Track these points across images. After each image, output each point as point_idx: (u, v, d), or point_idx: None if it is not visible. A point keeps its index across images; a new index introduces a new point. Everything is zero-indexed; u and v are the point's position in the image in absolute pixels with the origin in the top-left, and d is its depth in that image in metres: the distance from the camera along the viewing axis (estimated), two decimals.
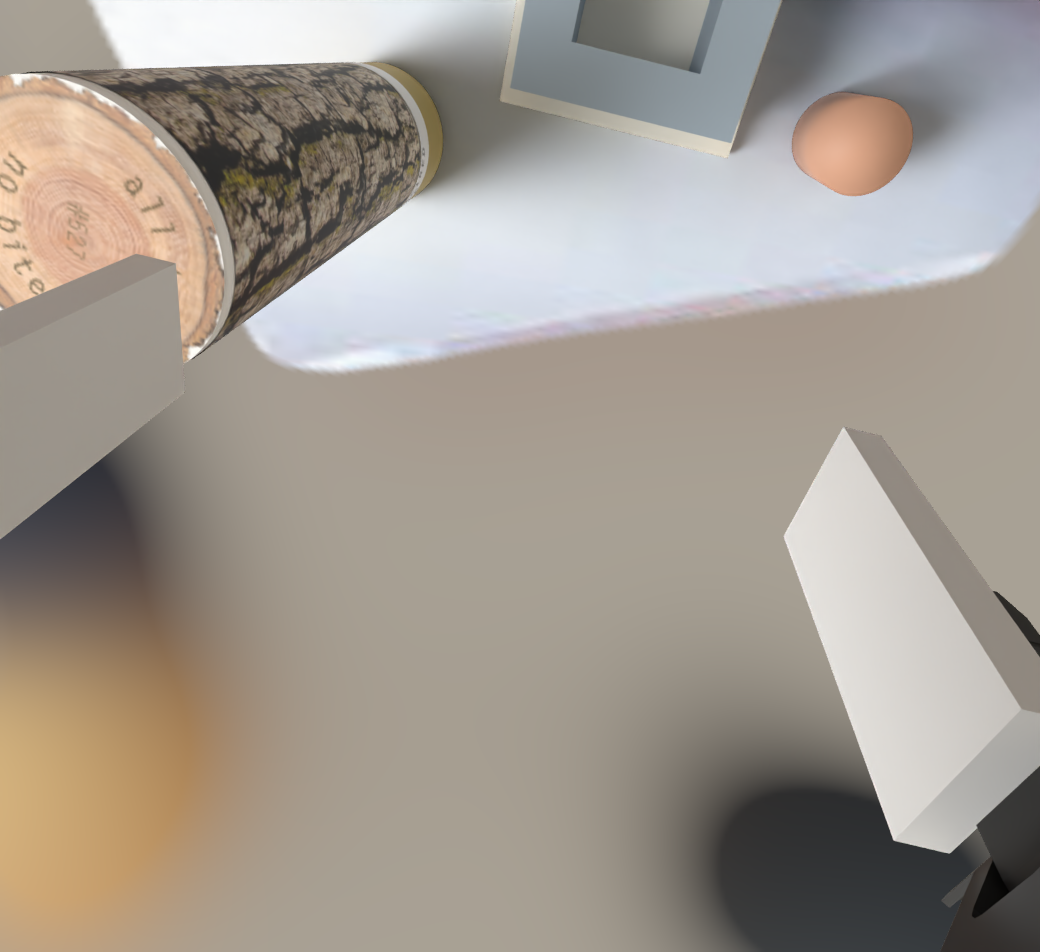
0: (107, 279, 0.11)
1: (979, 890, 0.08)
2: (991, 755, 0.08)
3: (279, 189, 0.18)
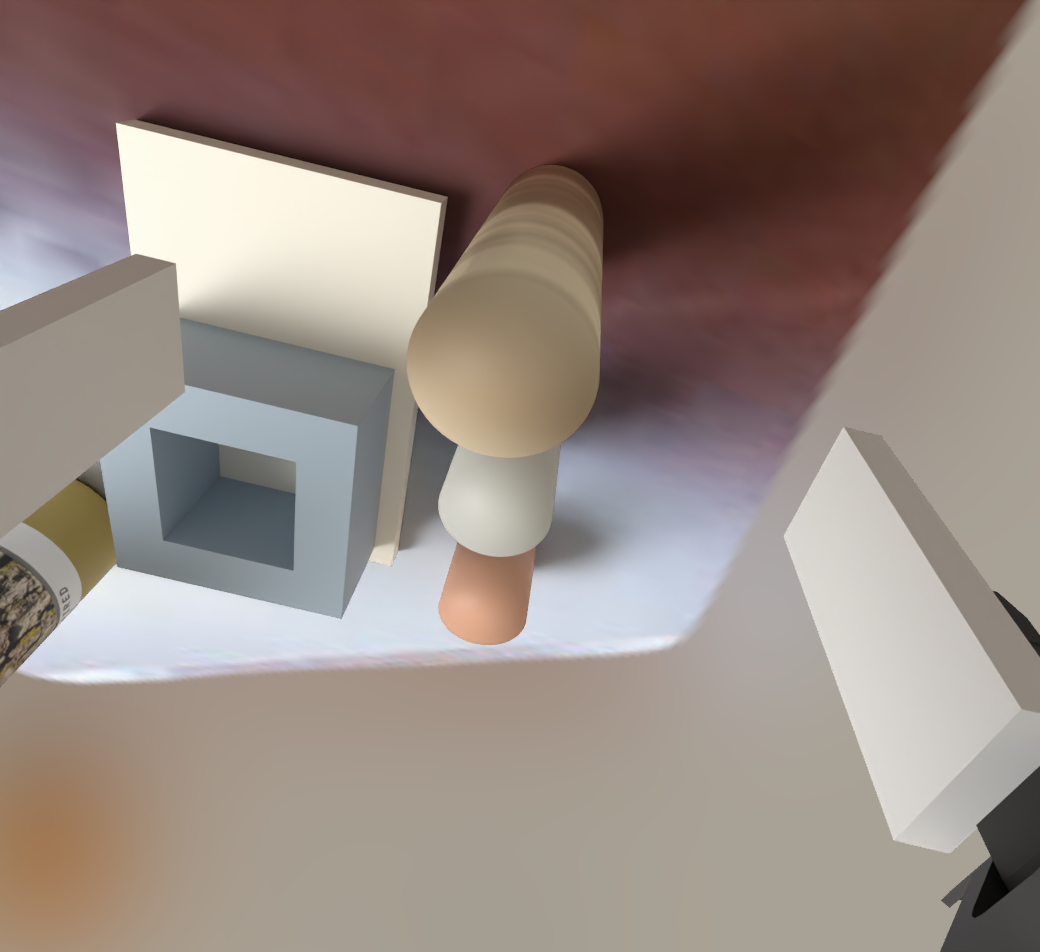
0: (107, 278, 0.11)
1: (979, 890, 0.08)
2: (991, 755, 0.08)
3: None
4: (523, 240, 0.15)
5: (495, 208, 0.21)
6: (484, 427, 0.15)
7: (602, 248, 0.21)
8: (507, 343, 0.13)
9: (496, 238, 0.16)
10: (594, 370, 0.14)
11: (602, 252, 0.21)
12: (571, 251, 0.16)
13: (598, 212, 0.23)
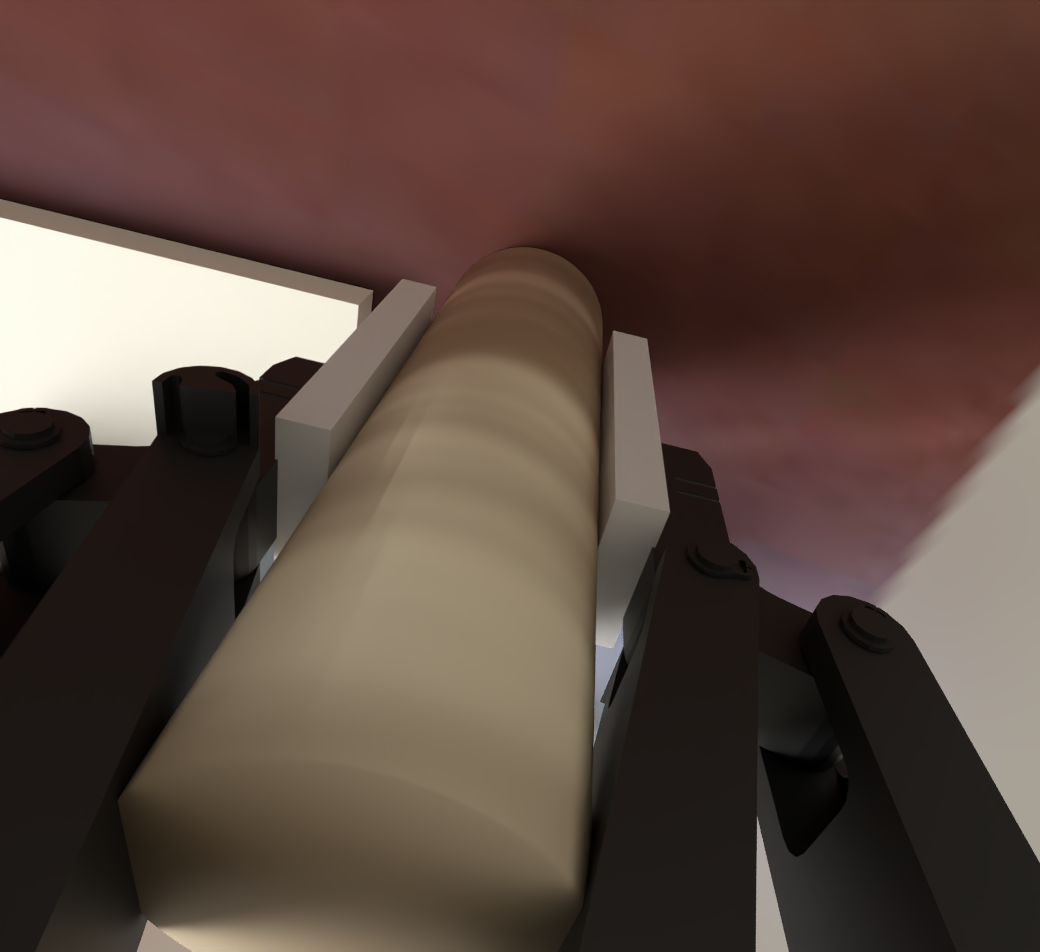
0: (400, 302, 0.13)
1: (614, 683, 0.09)
2: (610, 546, 0.09)
3: None
4: (424, 512, 0.07)
5: (422, 341, 0.12)
6: None
7: (600, 399, 0.13)
8: (347, 867, 0.05)
9: (372, 489, 0.07)
10: None
11: (600, 408, 0.13)
12: (534, 507, 0.08)
13: (594, 329, 0.15)
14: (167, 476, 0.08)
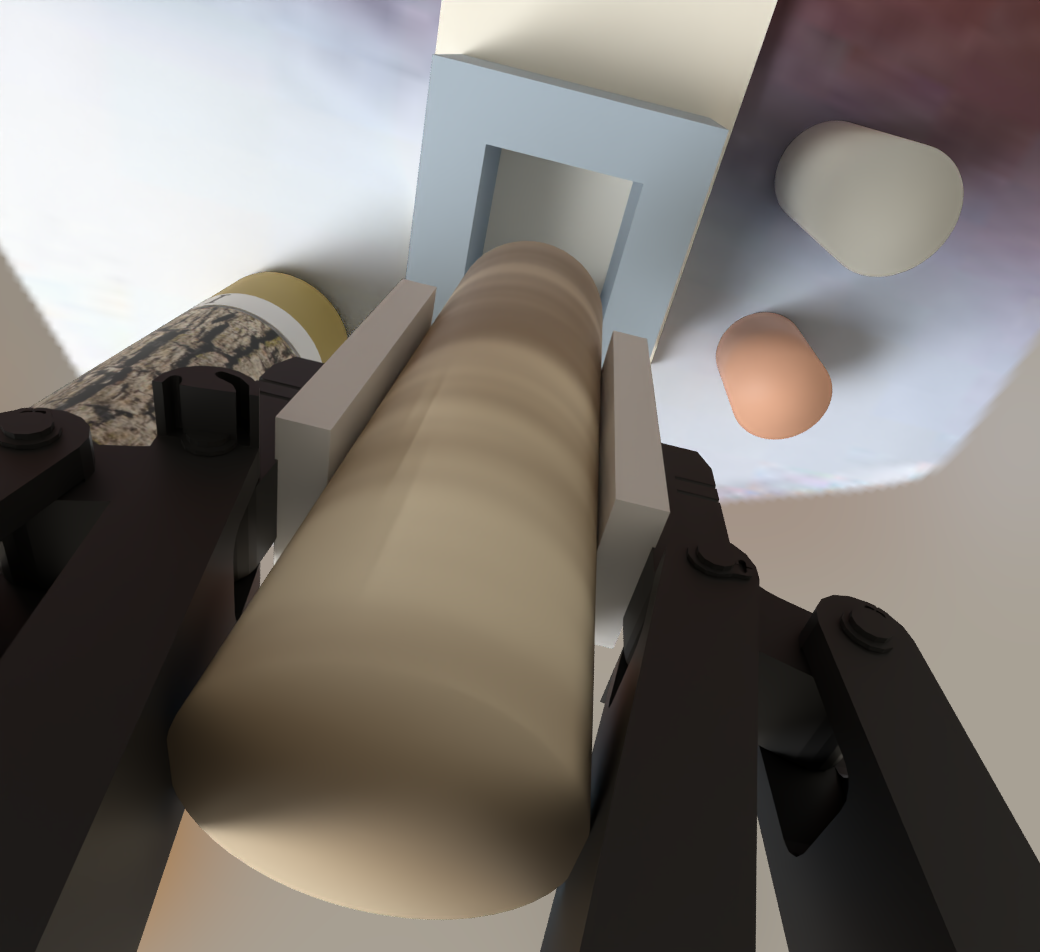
0: (400, 302, 0.13)
1: (614, 683, 0.09)
2: (610, 546, 0.09)
3: None
4: (442, 472, 0.08)
5: (432, 327, 0.13)
6: (351, 877, 0.07)
7: (600, 383, 0.14)
8: (381, 766, 0.06)
9: (394, 452, 0.08)
10: (578, 822, 0.06)
11: (600, 391, 0.14)
12: (540, 471, 0.08)
13: (595, 318, 0.15)
14: (167, 476, 0.08)
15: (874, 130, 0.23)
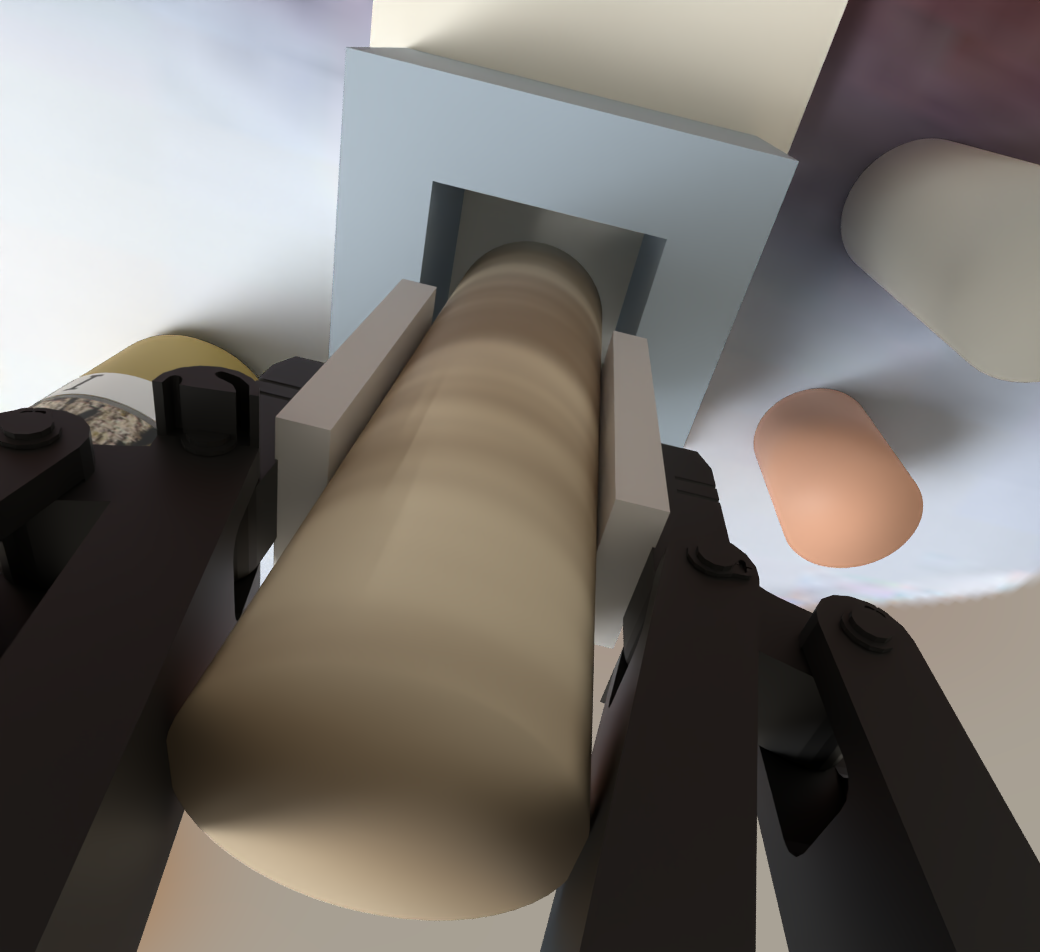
0: (400, 302, 0.13)
1: (614, 682, 0.09)
2: (610, 546, 0.09)
3: None
4: (441, 472, 0.08)
5: (432, 328, 0.13)
6: (351, 878, 0.07)
7: (600, 383, 0.14)
8: (380, 768, 0.06)
9: (394, 453, 0.08)
10: (578, 823, 0.06)
11: None
12: (539, 471, 0.08)
13: (594, 318, 0.15)
14: (167, 476, 0.08)
15: (1008, 157, 0.16)
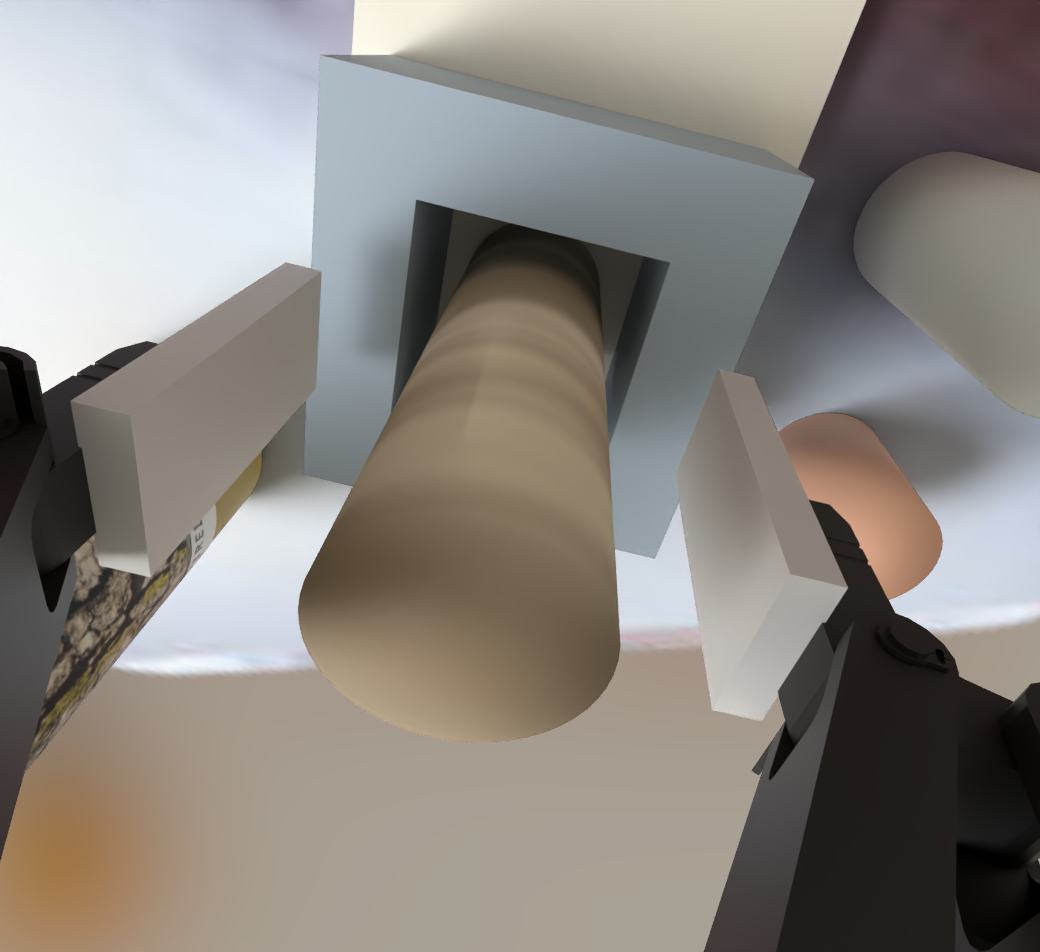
0: (273, 285, 0.13)
1: (775, 755, 0.09)
2: (775, 620, 0.09)
3: None
4: (492, 395, 0.10)
5: (457, 294, 0.15)
6: (433, 705, 0.09)
7: None
8: (465, 601, 0.08)
9: (450, 384, 0.10)
10: (612, 640, 0.08)
11: None
12: (566, 398, 0.10)
13: (595, 287, 0.17)
14: None
15: (1039, 174, 0.15)
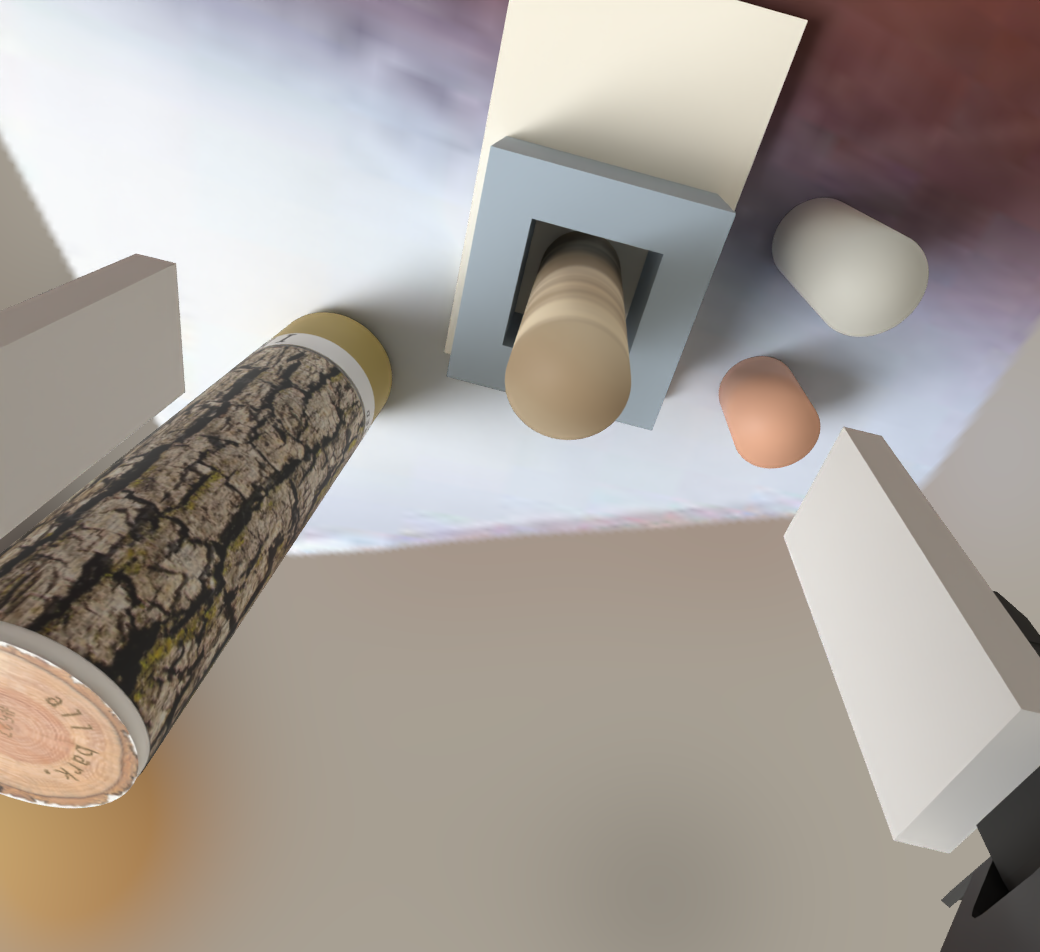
0: (106, 279, 0.11)
1: (979, 889, 0.08)
2: (991, 755, 0.08)
3: (200, 621, 0.20)
4: (579, 296, 0.23)
5: (546, 266, 0.28)
6: (553, 418, 0.22)
7: None
8: (572, 363, 0.21)
9: (559, 293, 0.23)
10: (628, 381, 0.21)
11: None
12: (609, 302, 0.23)
13: (619, 268, 0.31)
14: None
15: (856, 212, 0.28)
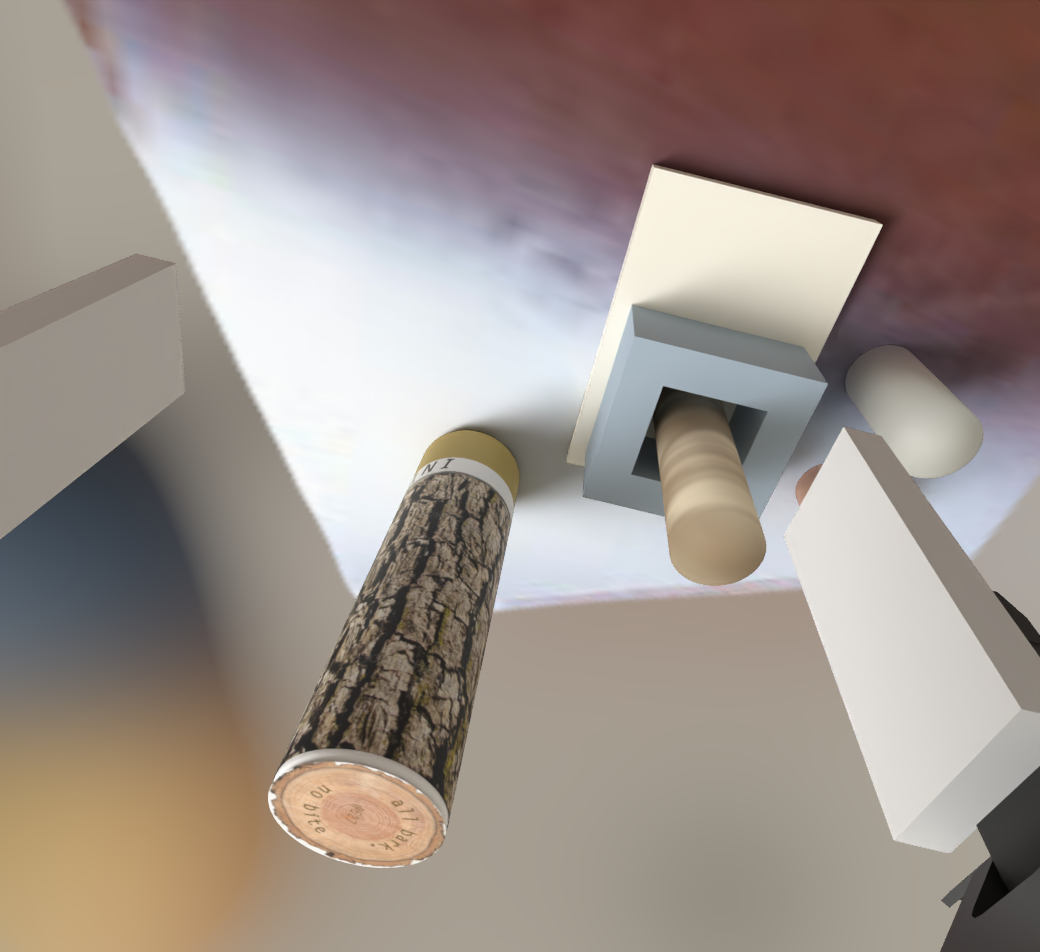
0: (107, 278, 0.11)
1: (979, 890, 0.08)
2: (991, 755, 0.08)
3: (461, 731, 0.27)
4: (718, 475, 0.30)
5: (672, 420, 0.35)
6: (703, 572, 0.29)
7: None
8: (722, 537, 0.28)
9: (701, 470, 0.30)
10: (763, 549, 0.28)
11: None
12: (738, 474, 0.31)
13: None
14: None
15: (921, 373, 0.35)
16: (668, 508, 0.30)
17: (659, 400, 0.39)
